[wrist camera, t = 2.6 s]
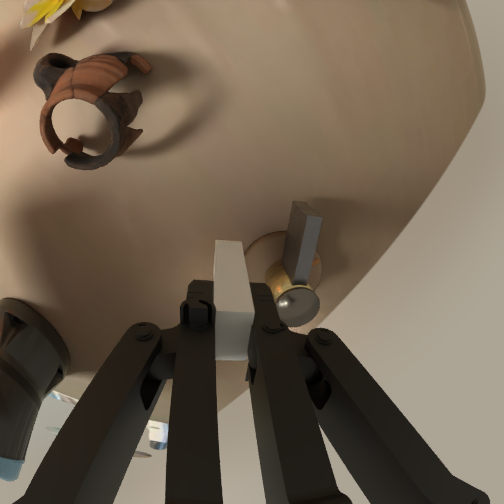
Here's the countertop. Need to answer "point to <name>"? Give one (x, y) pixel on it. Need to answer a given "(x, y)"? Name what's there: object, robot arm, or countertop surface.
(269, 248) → the dial base
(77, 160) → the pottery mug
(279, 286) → the knob
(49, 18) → the decorative flower
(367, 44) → the countertop surface
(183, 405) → the robot arm
